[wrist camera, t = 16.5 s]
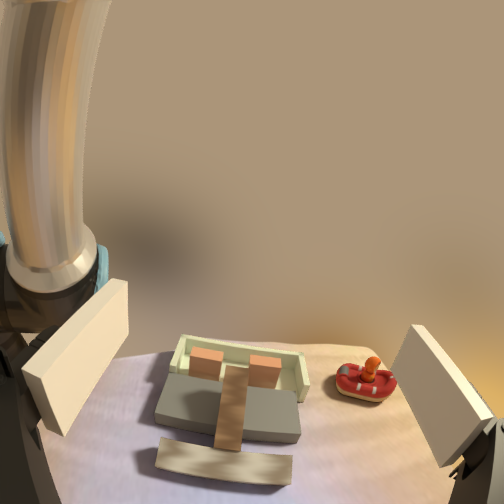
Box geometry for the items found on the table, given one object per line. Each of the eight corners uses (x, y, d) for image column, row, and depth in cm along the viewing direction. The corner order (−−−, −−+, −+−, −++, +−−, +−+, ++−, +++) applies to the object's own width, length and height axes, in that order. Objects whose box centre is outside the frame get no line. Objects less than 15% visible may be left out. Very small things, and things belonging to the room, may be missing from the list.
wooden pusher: (154, 465, 26) (179, 356, 38) (157, 468, 28) (180, 366, 40) (291, 483, 26) (294, 373, 39) (285, 485, 28) (289, 383, 41)
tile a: (189, 355, 43) (192, 346, 45) (188, 378, 44) (191, 369, 47) (222, 361, 43) (223, 351, 45) (218, 384, 44) (220, 374, 47)
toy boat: (389, 408, 43) (407, 377, 41) (330, 395, 46) (345, 363, 44) (388, 383, 50) (403, 353, 48) (334, 371, 53) (347, 340, 51)
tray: (169, 382, 43) (169, 364, 42) (180, 351, 52) (181, 333, 50) (303, 402, 44) (310, 385, 43) (297, 368, 52) (303, 352, 51)
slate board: (155, 423, 35) (154, 412, 34) (169, 382, 43) (169, 371, 42) (296, 443, 35) (301, 433, 34) (291, 401, 44) (295, 391, 43)
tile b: (249, 363, 44) (250, 354, 46) (244, 386, 45) (245, 376, 47) (281, 367, 44) (280, 358, 46) (274, 389, 45) (274, 380, 48)
